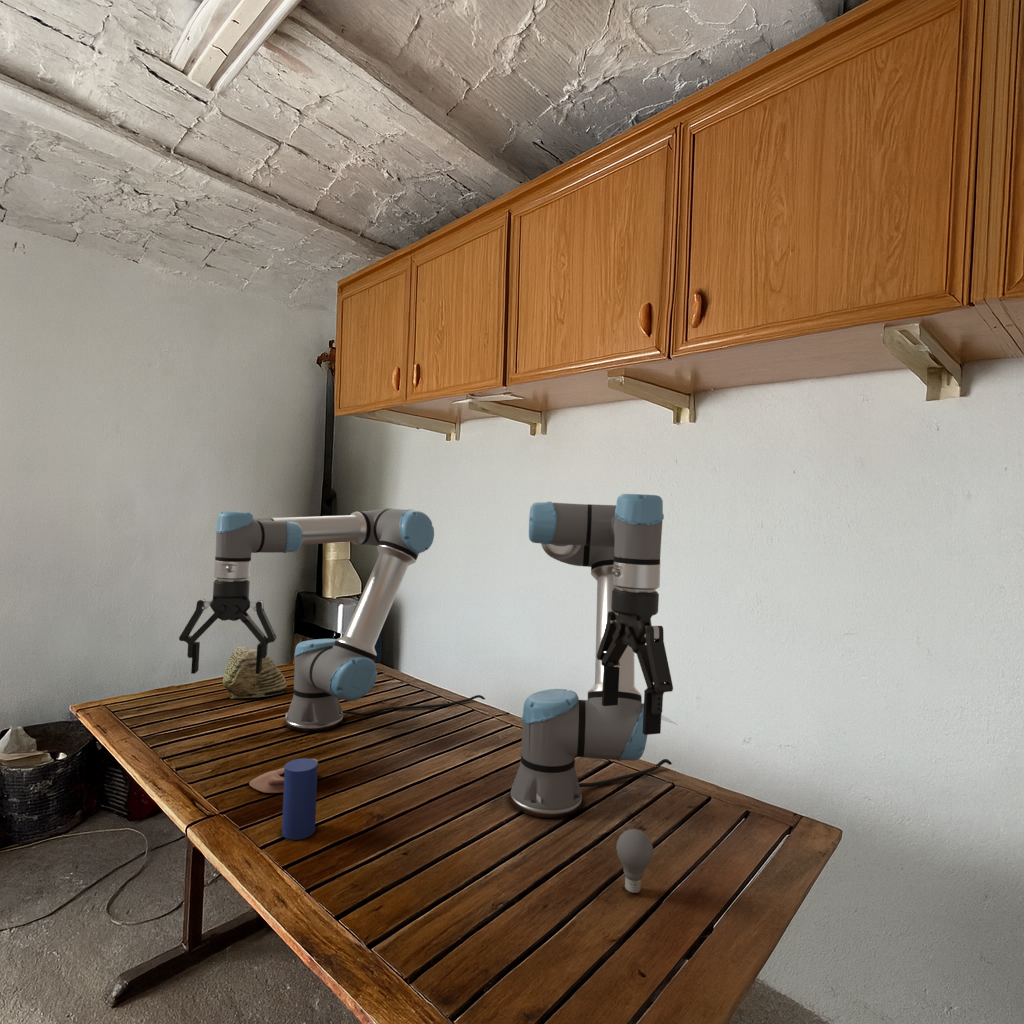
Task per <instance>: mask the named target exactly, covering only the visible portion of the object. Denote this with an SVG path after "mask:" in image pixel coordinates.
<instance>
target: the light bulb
mask: <svg viewBox="0 0 1024 1024" xmlns="http://www.w3.org/2000/svg"><path fill="white" fill-rule="evenodd" d="M615 849H616V854H617V857H618V859H619V861H620V863H621V865H622V867H623V873H624V874H623V875H624V876H625V878H624V888H625V890H627V891H628V892H630V893H634V894H635V893H639V892H640V891H641V889H642V887H641V886H642V879H643V877H644V875H645V871H646V868H647V867H648V866H649V864H650V863H651V861H652V859H653V855H654V847H653V843H652V841H651V838H649V836H648V835H647V834H646V833H645V832H643V831H642V830H641V829H636V828H629V829H627V830H625V831H623V832H622V833H621V834H620V835H619V837H618V839H617V841H616V847H615Z"/></svg>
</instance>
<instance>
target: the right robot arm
mask: <svg viewBox="0 0 1024 1024" xmlns="http://www.w3.org/2000/svg"><path fill="white" fill-rule="evenodd" d="M664 516H665V514H664V501H663V498H662V497H661V496H660V495H656V494H639V493H621V494H619V495H618V496H617V498H616V504H593V503H591V504H589V503H586V504H584V503H568V502H567V503H565V502H552V501H546V502H543V501H542V502H540V501H539V502H533V503H532V504H531V505H530V508H529V515H528V540H529V541H530V542H531V543H533V544H540V545H541V547H542V550H543V551H544V553H546V555H548V556H549V557H550V558H552V559H553V560H556V561H558V562H560V563H564V564H568V565H571V566H575V567H576V566H577V567H585V568H586V567H587V568H590V575H591V577H593V578H594V579H595V580H596V583H597V584H596V592H597V593H596V618H595V619H596V620H595V621H596V624H595V626H596V627H595V661H594V662H595V665H594V666H595V667H594V670H595V671H594V685H593V686H592V687H590V689H589V690H588V691H587V699H580V698H579V696H578V693H577V692H576V691H574V690H570V689H566V688H565V689H564V688H550V689H544V690H539V691H536V692H533V693H531V694H530V695H528V696H527V697H526V699H525V700H524V702H523V710H522V715H521V722H522V729H521V746H520V747H521V749H520V763H519V766H518V769H517V772H516V774H515V776H514V780H513V783H512V786H511V789H510V802H511V804H512V806H513V807H514V808H515V809H517V810H518V811H519V812H521V813H522V814H523V813H524V814H526V815H528V816H533V817H535V818H536V817H537V818H541V819H542V818H543V819H560V818H565V817H570V816H572V815H574V814H575V813H578V811H580V809H581V807H582V803H583V802H582V800H583V796H582V795H583V794H582V790H581V788H593V787H599V786H604V785H608V784H609V785H610V784H612V783H616V782H620V781H624V780H628V779H632V778H635V777H639V776H642V775H646V774H649V773H651V772H654V771H656V770H658V768H660V767H661V766H662V765H664V764H668V766H669V765H673V763H672V761H671V760H670V759H668V758H663V759H661V760H660V761H659V762H658V763H656V764H655V765H654V766H652V767H649V768H646V769H643V770H638V771H635V772H632V773H628V774H624V775H620V776H616V777H612V778H609V779H604V780H599V781H594V782H579V779H578V775H577V772H576V767H575V766H576V758H589V759H599V760H611V761H618V762H622V761H633V762H634V761H638V760H640V759H641V758H642V757H643V755H644V752H645V750H646V745H647V740H648V735H660V734H661V732H662V729H661V728H662V714H663V703H664V694H665V693H670V692H673V690H674V684H673V680H672V675H671V670H670V666H669V661H668V657H667V652H666V651H667V650H666V646H665V641H664V626H663V625H652V618H653V617H654V616H656V615H657V614H658V613H659V603H660V602H659V600H660V593H659V592H658V591H657V590H658V589H659V588H660V587H661V585H660V584H661V552H662V535H663V520H664V518H665V517H664ZM635 654H636V655H637V660H638V663H639V667H640V669H641V672H642V675H643V679H644V681H645V684H646V688H645V690H644V691H643V692H644V694H643V695H642V693H641V692H640V691H639V690H638V689H637V688H636V685H635ZM642 697H643V698H642ZM642 699H643V700H642ZM655 766H656V767H655ZM657 766H658V767H657Z"/></svg>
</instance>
